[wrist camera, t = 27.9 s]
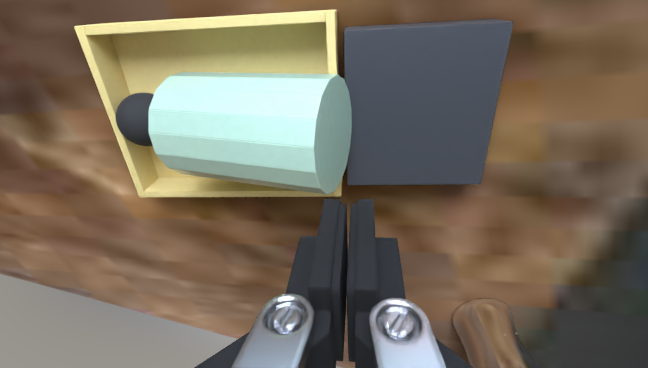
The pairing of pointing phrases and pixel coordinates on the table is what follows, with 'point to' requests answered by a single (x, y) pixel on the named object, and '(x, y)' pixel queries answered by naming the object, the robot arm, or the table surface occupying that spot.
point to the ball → (135, 118)
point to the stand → (423, 100)
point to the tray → (203, 56)
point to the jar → (254, 128)
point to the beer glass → (490, 335)
